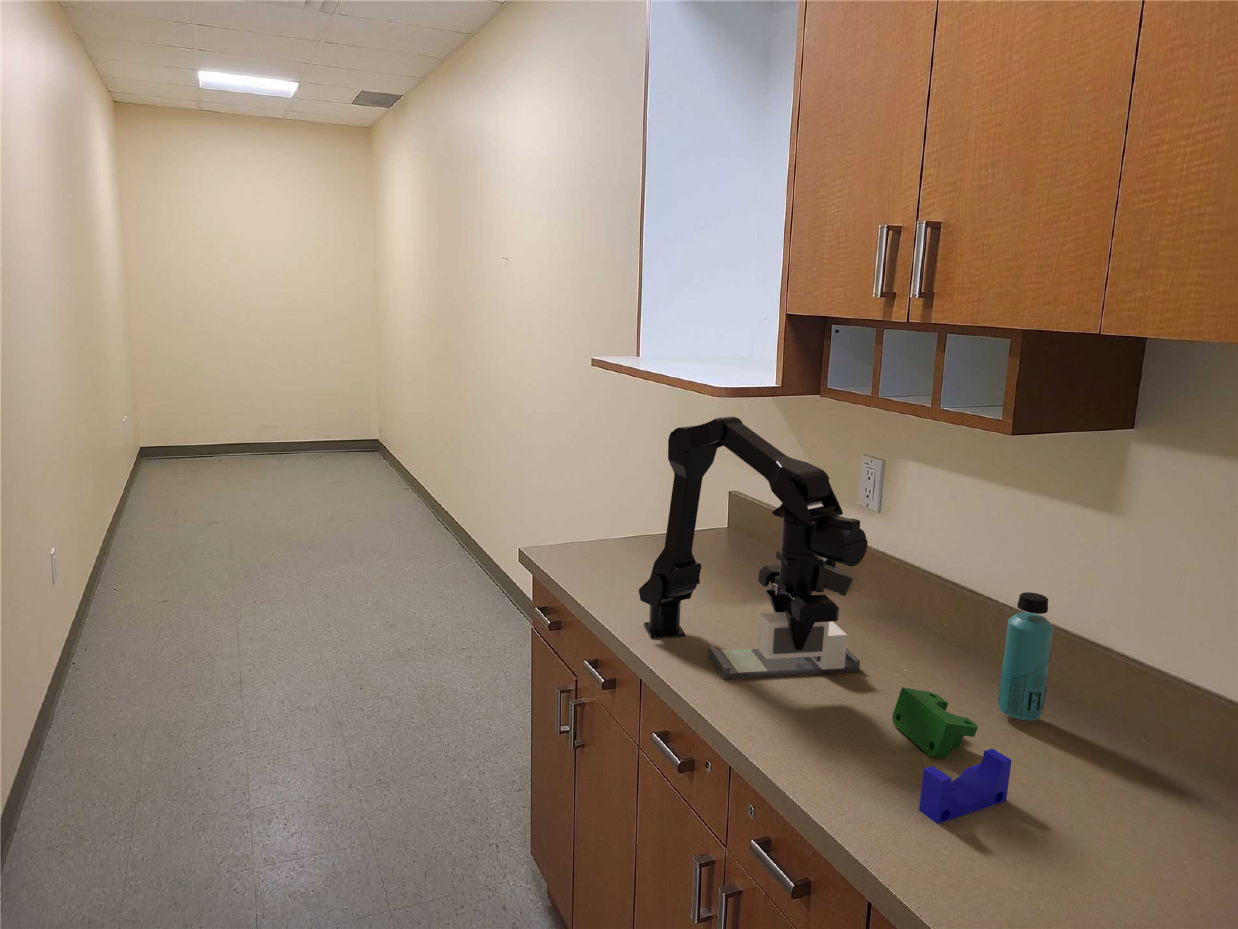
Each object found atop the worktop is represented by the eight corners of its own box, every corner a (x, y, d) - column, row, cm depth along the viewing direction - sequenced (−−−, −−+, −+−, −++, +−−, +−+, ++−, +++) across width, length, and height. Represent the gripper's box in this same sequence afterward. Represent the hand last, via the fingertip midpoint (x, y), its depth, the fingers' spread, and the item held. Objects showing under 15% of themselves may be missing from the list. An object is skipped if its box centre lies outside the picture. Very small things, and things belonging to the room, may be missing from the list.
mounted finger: (796, 645, 157) (798, 614, 156) (820, 644, 158) (822, 612, 157) (818, 669, 148) (821, 636, 147) (844, 668, 149) (847, 635, 147)
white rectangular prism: (757, 648, 141) (759, 613, 140) (816, 645, 143) (819, 610, 142) (767, 660, 137) (769, 624, 135) (827, 657, 139) (830, 621, 137)
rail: (708, 656, 154) (708, 646, 154) (836, 650, 159) (837, 639, 158) (723, 679, 145) (724, 668, 145) (859, 671, 150) (860, 660, 149)
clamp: (952, 780, 126) (988, 739, 121) (918, 775, 124) (952, 733, 120) (919, 713, 136) (950, 673, 131) (886, 707, 134) (917, 667, 129)
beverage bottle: (1025, 734, 130) (1042, 606, 126) (985, 715, 136) (1001, 592, 132) (1051, 723, 134) (1068, 598, 130) (1011, 705, 139) (1027, 585, 135)
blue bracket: (978, 784, 117) (983, 743, 116) (1006, 802, 113) (1011, 760, 112) (910, 805, 112) (914, 762, 111) (937, 825, 108) (942, 781, 107)
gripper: (876, 566, 129) (867, 666, 132) (824, 530, 147) (817, 619, 150) (804, 569, 127) (796, 670, 130) (760, 532, 145) (754, 622, 148)
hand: (792, 643), depth 139 cm, fingers closed on white rectangular prism, 4 cm apart
